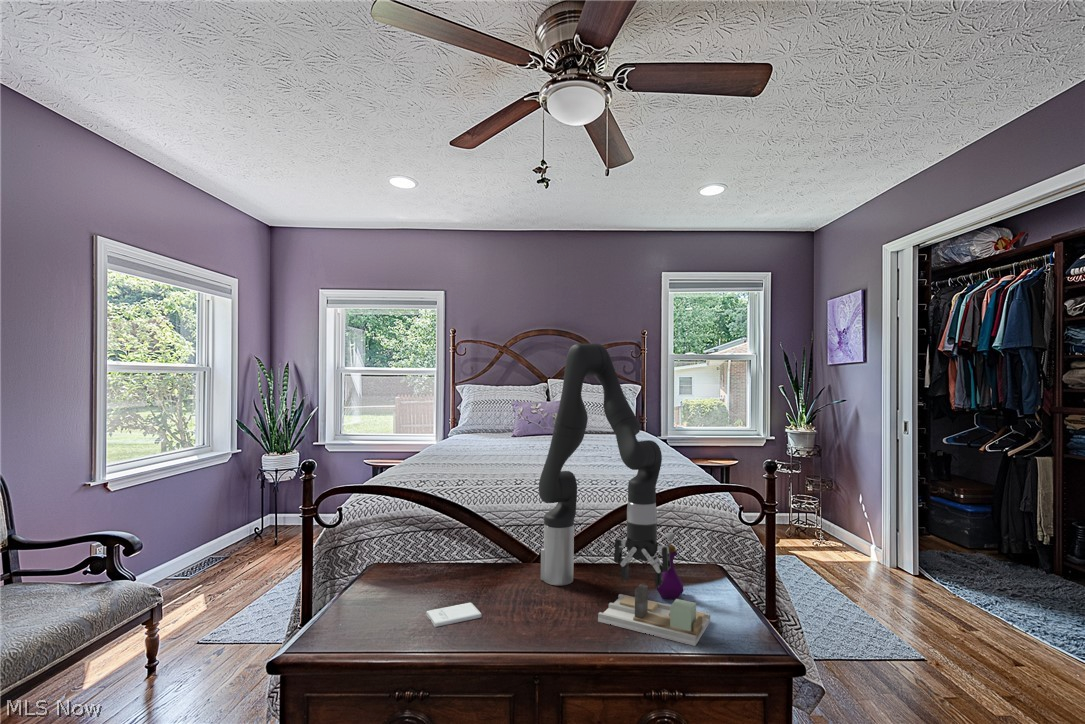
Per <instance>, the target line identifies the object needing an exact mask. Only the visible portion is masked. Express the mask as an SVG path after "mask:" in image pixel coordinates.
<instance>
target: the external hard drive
mask: <svg viewBox="0 0 1085 724" xmlns="http://www.w3.org/2000/svg"><path fill="white" fill-rule="evenodd" d="M425 615H426V616H427V618H428V619H429V620H430V621H431V623H432V625H433V626H434V628H437V627H441V626H447V625H452V624H456V623H459V622H460V623H461V622H467V621H471V620H475V619H480V618H482V613H481V612H480V610H479V609H478V608H477V607H476V606H475V605H474V604H473V603H472V602H465V603H461V604H456V605H451V606H445V607H440V608H435V609H431V610H427V611H426V612H425Z"/></svg>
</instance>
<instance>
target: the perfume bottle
mask: <svg viewBox="0 0 1085 724" xmlns="http://www.w3.org/2000/svg"><path fill="white" fill-rule="evenodd" d="M664 534H665V535H664V536H665V537H666V539H667V540H668V542H669V544H667V545H668V546H669V549H670V566H671V568H670V569H669V570H668V571H667V572H663V583H662V585H661V586H660V587H659V588H656V587H655V588H656V591H657V592H658V594H659V595H660V598H662V599H667V600H674V601H675V600H676V599H679V598H680V596H681V595H682V594H683V593H684V582H683V580H682V579H681V577H680V576H679V574H678V573H677V572H676V569H675V566H674V559H675V557H676V556H678V552H677V551H676V547H675V546H674V545H672V544H671V542H672V541H673V540H674V539H675V536H676V533H674V532H665V533H664Z"/></svg>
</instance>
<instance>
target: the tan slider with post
mask: <svg viewBox="0 0 1085 724" xmlns="http://www.w3.org/2000/svg"><path fill="white" fill-rule="evenodd" d="M648 587H649V586H648V585H647V584H643V583H639V585H638V586H636V588H635V589H634V597H635V616H634V617H633V620H634V621H638V622H642V623H647V624H651V625H655V626H659V627H663V628H667V629H671V630H675V631H679V632H683V633H687V634H692V635H696V638H697V637H698V635H699V634H700V632H701V631H702V616H699V617H698V618H697V619H696V621H695V622H694V627H693V629H692V630H691V631H687V630H683V629H679V628H675V627H670V617H667V616H663V615H658V614H654V613H650V612H648V600H649V588H648Z"/></svg>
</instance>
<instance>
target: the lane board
mask: <svg viewBox="0 0 1085 724" xmlns="http://www.w3.org/2000/svg"><path fill="white" fill-rule="evenodd" d="M617 597H618V598H617V599H616V600H615V601H614V602H609V603H608V608H607V609H606V610H604V611H603V612H601V611H599V612H598V613H597V622H598V623H602V624H606V625H610V624H611V625H610V626H615V627H619V628H623V629H627V630H630V631H634V632H639V633H643V634H645V633H646V634H645V635H649V634H650V636H653V635H654V637H657V638H662V639H666V640H671V641H673V642H678V643H682V644H686V645H689V646H694V647H696V645H697V644H698V642H699V641H700V639H701V637H702V636H703V634H704V633H705V631H706V629H707V628H708V626H709V625H710V623H711V613H707V612H703V611H700V610H696V619H697V618H698V617H699V616H702V631H701V632H700V634H699V635H698V637H697V638H696V635H692V634H687V633H683V632H679V631H675V630H671V629H667V628H663V627H659V626H655V625H651V624H647V623H642V622H638V621H634V620H633V617H634V616H635V596H631V595H627V594H622V593H619V594H618V596H617ZM671 605H672V604H667V603H663V602H659V601H653V600H649V599H648V612H650V613H654V614H658V615H663V616H667V617H670V606H671Z"/></svg>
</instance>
